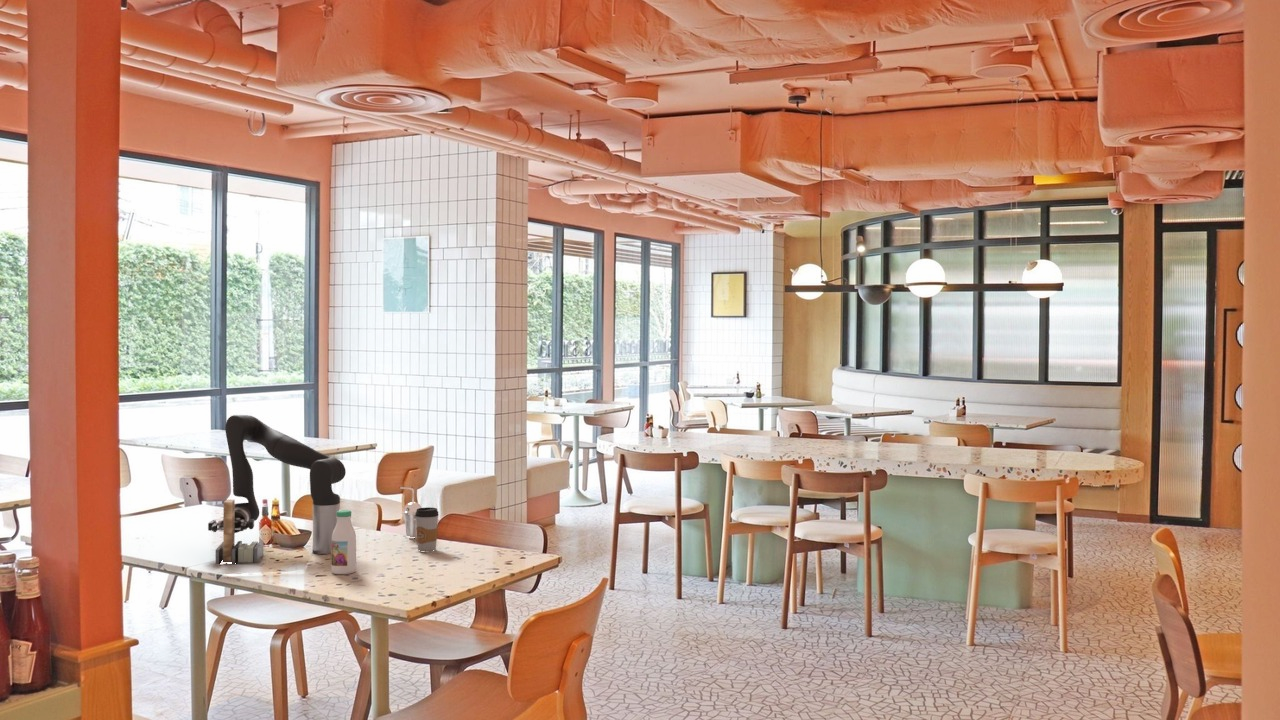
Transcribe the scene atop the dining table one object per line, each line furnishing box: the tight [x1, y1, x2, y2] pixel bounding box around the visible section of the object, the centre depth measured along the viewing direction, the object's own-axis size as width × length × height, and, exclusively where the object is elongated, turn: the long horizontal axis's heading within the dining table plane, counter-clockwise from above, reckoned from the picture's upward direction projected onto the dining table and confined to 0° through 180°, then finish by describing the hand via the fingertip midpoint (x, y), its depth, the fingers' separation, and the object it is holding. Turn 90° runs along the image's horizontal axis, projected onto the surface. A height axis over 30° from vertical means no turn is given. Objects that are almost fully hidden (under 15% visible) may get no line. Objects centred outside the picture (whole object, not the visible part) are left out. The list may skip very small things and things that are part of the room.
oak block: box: [222, 499, 236, 562], centre depth 327 cm, size 2×6×20 cm, turn 14°
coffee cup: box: [415, 507, 439, 552], centre depth 350 cm, size 8×8×15 cm
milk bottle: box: [330, 509, 357, 575], centre depth 315 cm, size 8×8×20 cm
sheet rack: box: [215, 539, 264, 565], centre depth 328 cm, size 13×14×6 cm
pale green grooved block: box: [238, 540, 259, 562], centre depth 329 cm, size 5×10×5 cm, turn 14°
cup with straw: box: [398, 486, 423, 540], centre depth 373 cm, size 8×9×20 cm
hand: (228, 528), depth 326 cm, fingers open, 8 cm apart
